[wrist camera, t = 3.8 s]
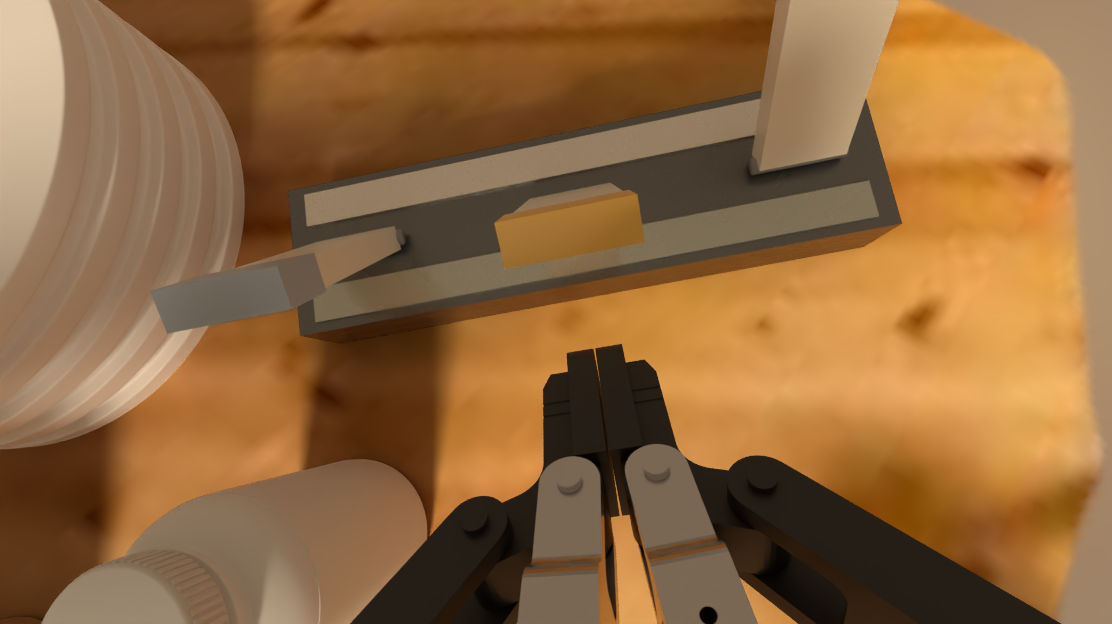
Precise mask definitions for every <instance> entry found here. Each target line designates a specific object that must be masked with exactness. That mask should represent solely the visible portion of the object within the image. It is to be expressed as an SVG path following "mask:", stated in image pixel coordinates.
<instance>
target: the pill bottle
mask: <svg viewBox="0 0 1112 624" xmlns="http://www.w3.org/2000/svg"><path fill="white" fill-rule="evenodd" d="M426 540H427V520H426V515H425V510H424V507H423V504H422V501H421V499H420V497H419V495H418V493H417V491H416V490H415V488H414V487H413V485H412V484H411V483H410V482H409V481H408V480H407V478H406V477H404V476H403V475H402V474H401V473H400V472H398V471H397V470H396V469H394V468H392V467H391V466H389V465H386V464H384V463H381V462H378V461H374V460H368V459H350V460H343V461H339V462H335V463H331V464H327V465H323V466H319V467H315V468H311V469H307V470H303V471H299V472H295V473H291V474H287V475H283V476H279V477H275V478H271V479H267V480H263V481H259V482H255V483H251V484H247V485H243V486H239V487H235V488H231V489H227V490H223V491H219V492H215V493H211V494H207V495H204V496H201V497H198V498H195V499H192V500H190V501H187V502H185V503H183V504H181V505H179V506H177V507H176V508H174V509H172V510H171V511H170V512H168V513H167V514H165V515H164V516H162V517H161V518H159V519H158V520H157V521H156V522H154V523H153V524H152V525H151V526H150V527H149V528H148V529H146V530H145V531H144V532H143V533H142V534H141V536H140V537H139V538H138V539H137V540H136V541H135V542H134V544H133V545H132V546H131V548H130V549H129V550H128V552H127V553H126V555H125V557H121V558H118V559H115V560H112V561H109V562H106V563H103V564H100V565H97V566H95V567H93V568H91V569H89V570H87V572H84V573H82V574H81V575H80V577H77V578H75V579H74V580H73V582H72V583H70V584H69V585H68V586H67V587H66V588H65V589H64V590H63V591H62V592H61V593H60V594H59V596H58V597H57V598H56V599H55V601H54V602H53V603H52V605H51V606H50V608H49V610H48V611H47V613H46V615H45V617H44V619H43V621H42V623H41V624H350V623H351V622H352V621H353V620H354V619H355V618H356V616H357V615H358V614H359V613H360V612H361V611H362V610H363V609H364V608H365V607H366V606H367V604H368V603H369V602H370V601H371V600H372V599H373V598H374V597H375V596H376V595H377V594H378V592H379V591H380V590H381V589H382V588H383V587H384V586H385V585H386V584H387V583H388V581H389V580H390V579H391V578H392V577H393V576H394V575H395V574H396V573H397V572H398V571H399V569H400V568H401V567H402V566H403V565H404V564H405V563H406V562H407V561H408V560H409V559H410V557H411V556H412V555H413V554H414V553H415V552H416V551H417V550H418V549H419V548H420V547H421V545H422V544H423V543H424V542H425V541H426Z"/></svg>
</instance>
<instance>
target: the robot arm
mask: <svg viewBox="0 0 1112 624" xmlns="http://www.w3.org/2000/svg"><path fill="white" fill-rule="evenodd" d="M595 349H596V357H597V364H598V370H597V365H596V360H595V355H594V350H593V349H588V350H582V351H576V352H570V353H567V365H568V372H564V373H558V374H552V375H550V377H549V379H548V381H547V383H546V385H545V387H544V389H543V405H544V407H543V416H544V419H543V430H544V465H543V470H542V473H541V475H540V477H539V479H538V480H537V482H536V483H535V484H534V485H533V486H532V487H531V488H530V489H529V490H527V491H526V492H524V493H522V494H520V495H519V496H516V497H514V498H512V499H510V500H507V501H505V502H503V503H501V502H500V501H499V500H497V499H495V498H493V497H489V496H478V497H474V498H471V499H469V500H466V501H465V502H463V503H461V504H460V505H459V506H458V507H457V508H455V509H454V510H453V512H452V513H451V514H450V515H449V516H448V517H447V518H446V519H445V520H444V521H443V522H442V524H441V525H440V526H439V527H438V528H437V529H436V530H435V531H434V532H433V533H432V534H431V536H430V537H429V538H428V539H427V540H426V541H425V542H424V543H423V544H422V545H421V547H420V548H419V549H418V550H417V551H416V552H415V553H414V554H413V555H412V556H411V557H410V559H409V560H408V561H407V562H406V563H405V564H404V565H403V566H402V567H401V568H400V569H399V571H398V572H397V573H396V574H395V575H394V576H393V577H392V578H391V579H390V580H389V581H388V583H387V584H386V585H385V586H384V587H383V588H382V589H381V590H380V591H379V592H378V594H377V595H376V596H375V597H374V598H373V599H372V600H371V601H370V602H369V603H368V604H367V606H366V607H365V608H364V609H363V610H362V611H361V612H360V613H359V614H358V615H357V616H356V618H355V619H354V620H353V621H352V622H351V623H350V624H516V623H517V624H619V604H618V583H617V561H616V546H615V541H614V537H613V532H612V523H611V517H615V516H620V515H619V508H618V501H617V494H616V487H615V481H616V486H617V491H618V496H619V501H620V506H621V511H622V516H623V515H630V519H631V525H632V530H633V535H634V538H635V540H636V541H637V543H638V547H639V551H640V555H641V559H642V563H643V567H644V571H645V575H646V579H647V583H648V587H649V591H650V595H651V599H652V603H653V607H654V611H655V615H656V619H657V624H758V623H757V620H756V618H755V615H754V613H753V610H752V608H751V605H750V603H749V600H748V598H747V595H746V593H745V590H744V588H743V585H742V583H741V580H740V578H741V579H742V580H744V581H745V582H746V583H747V584H749V585H750V586H751V587H753V588H754V589H755V590H756V591H758V592H759V593H760V594H761V595H763V596H764V597H765V598H766V599H768V600H769V601H770V602H772V603H773V604H774V605H775V606H777V607H778V608H779V609H780V610H782V611H783V612H784V613H785V614H787V615H788V616H789V617H791V618H792V619H793V620H794V621H796V622H797V623H798V624H1061V623H1059V622H1057V621H1056V620H1054V619H1052V618H1050V617H1049V616H1047V615H1045V614H1043V613H1042V612H1040V611H1038V610H1037V609H1035V608H1033V607H1031V606H1030V605H1028V604H1026V603H1024V602H1023V601H1021V600H1019V599H1018V598H1016V597H1014V596H1012V595H1011V594H1009V593H1007V592H1005V591H1004V590H1002V589H1000V588H999V587H997V586H995V585H993V584H992V583H990V582H988V581H986V580H985V579H983V578H981V577H979V576H978V575H976V574H974V573H973V572H971V571H969V570H967V569H966V568H964V567H962V566H960V565H959V564H957V563H955V562H954V561H952V560H950V559H948V558H947V557H945V556H943V555H941V554H940V553H938V552H936V551H935V550H933V549H931V548H929V547H928V546H926V545H924V544H922V543H921V542H919V541H917V540H915V539H914V538H912V537H910V536H909V535H907V534H905V533H903V532H902V531H900V530H898V529H896V528H895V527H893V526H891V525H890V524H888V523H886V522H884V521H883V520H881V519H879V518H877V517H876V516H874V515H872V514H871V513H869V512H867V511H865V510H864V509H862V508H860V507H858V506H857V505H855V504H853V503H852V502H850V501H848V500H846V499H845V498H843V497H841V496H839V495H838V494H836V493H834V492H832V491H831V490H829V489H827V488H826V487H824V486H822V485H820V484H819V483H817V482H815V481H813V480H812V479H810V478H808V477H807V476H805V475H803V474H801V473H800V472H798V471H796V470H794V469H793V468H791V467H789V466H788V465H786V464H784V463H782V462H780V461H778V460H776V459H774V458H771V457H766V456H749V457H745V458H742V459H740V460H738V461H737V462H735V463H734V464H733V465H732V466H731V468H730V469H729V471H728V470H721V469H713V468H707V467H703V466H700V465H697V464H695V463H693V462H691V461H690V460H688V459H687V458H686V457H684V456H683V454H682V453H681V452H680V451H679V449H678V447H677V445H676V442H675V438H674V435H673V431H672V427H671V424H670V420H669V416H668V413H667V409H666V406H665V402H664V399H663V395H662V391H661V388H660V384H659V380H658V377H657V373H656V371H655V370H654V369H653V368H652V367H651V366H650V365H649V364H648V363H647V362H646V361H645V360H639V361H633V362H627V363H626V362H625V357H624V352H623V348H622V344H619V345H613V346H607V347H601V348H595ZM598 371H599V376H598ZM599 378H600V381H599ZM613 471H614V473H613ZM614 476H615V480H614ZM739 577H740V578H739ZM41 623H42V621H41V620H38V619H35V618H32V617H12V618H7V619H2V620H0V624H41Z"/></svg>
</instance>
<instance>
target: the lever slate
mask: <svg viewBox="0 0 1112 624" xmlns="http://www.w3.org/2000/svg"><path fill="white" fill-rule="evenodd" d="M403 244H406V236H405V233H404V231H403V229H397V230H396V229H395V226H392V227H387V228H382V229H377V230H372V231H367V232H362V233H357V234H353V235H348V236H343V237H338V238H333V239H328V240H323V241H319V242H315V243H312V244H309V245H306V246H303V247H300V248H297V249H293V250H290V251H287V252H284V253H281V254H278V255H275V256H271V257H268V258H265V259H262V260H259V261H256V262H252V263H249V264H246V265H243V266H240V267H237V268H234V269H230V270H225V271H220V272H215V273H210V274H205V275H201V276H198V277H194V278H191V279H188V280H185V281H181V282H178V283H175V284H172V285H168V286H165V287H162V288H159V289H156V290H152V291H150V293H151V295H152V298H153V300H154V303H155V305H156V307H157V310H158V312H159V315H160V317H161V320H162V322H163V324H164V327H165V329H166V332H167V334H168V333H173V332H178V331H184V330H189V329H194V328H199V327H204V326H210V325H215V324H220V323H225V322H231V321H236V320H241V319H246V318H252V317H257V316H262V315H267V314H272V313H278V312H283V311H288V310H292V309H294V308H296V307H298V306H300V305H302V304H304V303H306V302H308V301H310V300H311V299H313V298H315V297H317V296H319V295H321V294H323V293H325V292H327V291H326V287H328V286H330V285H332V284H334V283H336V282H338V281H340V280H342V279H344V278H346V277H348V276H350V275H352V274H354V273H356V272H358V271H360V270H362V269H364V268H366V267H367V266H369V265H371V264H373V263H375V262H377V261H379V260H381V259H383V258H385V257H387V256H389V255H391V254H393V253H395V252H397V251H399V250H401V247H400V245H403Z"/></svg>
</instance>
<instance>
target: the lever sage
mask: <svg viewBox="0 0 1112 624" xmlns="http://www.w3.org/2000/svg"><path fill="white" fill-rule="evenodd" d="M898 2H899V0H776V6H775V12H774V19H773V25H772V31H771V37H770V44H769V50H768V56H767V62H766V69H765V75H764V81H763V88H762V94H761V100H760V106H759V113H758V119H757V125H756V131H755V138H754V144H753V150H752V156H753V158H750V159H749V161H748V169H749V172H750V174H751V175H756V174H761V173H766V172H771V171H776V170H781V169H786V168H791V167H797V166H802V165H807V164H812V163H817V162H822V161H827V160H832V159H837V158H842V157H846V156H847V155H848V152H849V145H850V143H851V140H852V137H853V134H854V131H855V128H856V125H857V122H858V119H859V116H860V113H861V110H862V108H863V105H864V102H865V99H866V96H867V93H868V90H869V87H870V84H871V81H872V78H873V75H874V72H875V70H876V67H877V64H878V61H879V58H880V55H881V52H882V49H883V46H884V43H885V40H886V37H887V34H888V32H889V29H890V26H891V23H892V20H893V17H894V14H895V11H896V8H897V5H898Z"/></svg>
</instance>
